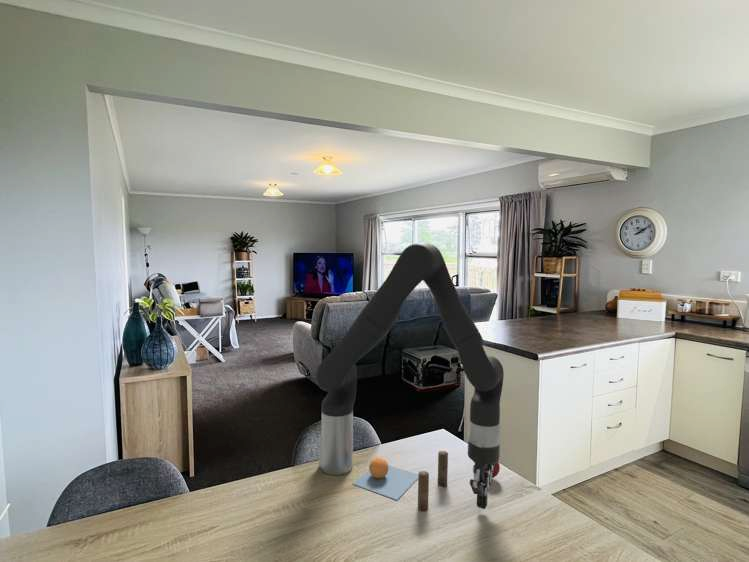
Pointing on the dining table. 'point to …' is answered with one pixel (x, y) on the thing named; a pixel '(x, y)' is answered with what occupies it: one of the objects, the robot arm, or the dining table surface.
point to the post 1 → (423, 490)
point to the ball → (378, 467)
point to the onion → (496, 469)
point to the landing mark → (388, 482)
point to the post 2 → (442, 468)
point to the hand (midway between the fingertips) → (481, 506)
